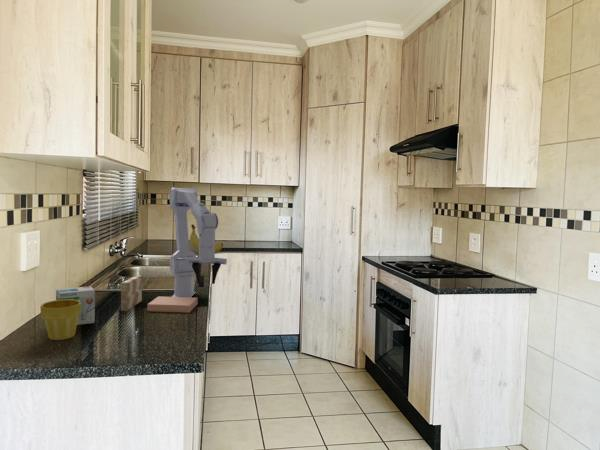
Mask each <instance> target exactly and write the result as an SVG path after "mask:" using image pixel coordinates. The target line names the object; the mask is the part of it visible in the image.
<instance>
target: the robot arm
mask: <svg viewBox="0 0 600 450" xmlns="http://www.w3.org/2000/svg"><path fill="white" fill-rule="evenodd" d="M168 195H169V206H170V207H169V208H170V209H171V210H173V212H174V213H173V214H174V224H175V226H174V227H175V240H176V251H175V252H174V253H172V255H171V256H170V263H169V268H170V269H169V270H170V272H171V273H172V274H173V275H174V293H173V295H171V296H170V297H192V296H193V295H194V294H195V293H196V294H197V292H196V291H195V278H196V281H197V285H198V284H201V279H202V277H201V276H202V275H201V270H202V264H204V265H205V264H208V265H211V271H212V272H211V273H212V274H211V284H212V285H214V284H216V278H217V276H218V273H219V270H220V268H221V265H227V263H228V258H224V257H223V258H221V257H216V256H215V255H216V253H215V244H216V229H217V228H218V227H219V217H218V215H217V213H215V212H211V211H210V210H209V209H208V207H207V206H206V205H205V203H203V202H200V201H199V200H198V190H196V188H193V187H191V188H186V187H184V188H183V187H182V188H181V187H171V189H170V192H169V194H168ZM188 211H190V212H191V215H192V216H193V217H194V219H195V220H196V222H195V223H196V227H197V234H198V238H199V251H198V257H197V256H196V253H194V252H193V251H192V250H190V236H189V229H188V227H189V226H188ZM194 276H195V277H194ZM196 294H195V295H196ZM195 295H194V296H195Z"/></svg>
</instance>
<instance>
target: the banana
mask: <svg viewBox="0 0 600 450" xmlns="http://www.w3.org/2000/svg"><path fill="white" fill-rule="evenodd" d="M190 226H191V228H192V232H191V234H190V236H189V243H190V244H191V246H192V247H193V248H194V249H196V251H198V252H199V235H197V233H196V227H197V226H195V224H191V225H190ZM223 247H224V244H223V243H222V242H218V243H215V254H216V253H218V252H220V251H221V250H222V249H223Z"/></svg>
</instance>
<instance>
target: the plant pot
mask: <svg viewBox="0 0 600 450" xmlns="http://www.w3.org/2000/svg"><path fill="white" fill-rule="evenodd" d="M80 314H81V302H80V301H79V300H72V299H64V300H56V299H55V300H49V301H47V302H44V303H42V304H41V305H40V317H41V319H43V321H44V325H45V328H46V332H47V336H48V339H49V340H51V341H62V340H69V339H71V338H74V337H75V334H76V330H77V326H78V325H77V321H78V316H79V315H80Z"/></svg>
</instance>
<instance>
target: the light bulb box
mask: <svg viewBox="0 0 600 450" xmlns="http://www.w3.org/2000/svg"><path fill="white" fill-rule="evenodd" d="M55 290H56V291H55V300H64V299H72V300H79V301H80V302H81V314H80V315H79V316H78V321H77V326H79V325H86V324H87V325H88V324H94V323H95V316H96V315H95V314H96V313H95V311H96V309H95V308H96V304H95V303H96V290H95V289H94V287H92V286H91V285H90V286H80V287H68V288H56V289H55Z"/></svg>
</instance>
